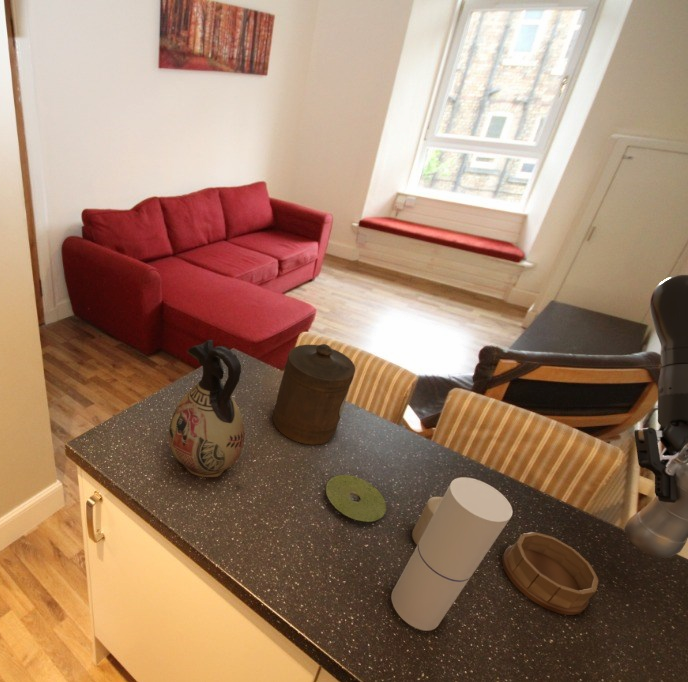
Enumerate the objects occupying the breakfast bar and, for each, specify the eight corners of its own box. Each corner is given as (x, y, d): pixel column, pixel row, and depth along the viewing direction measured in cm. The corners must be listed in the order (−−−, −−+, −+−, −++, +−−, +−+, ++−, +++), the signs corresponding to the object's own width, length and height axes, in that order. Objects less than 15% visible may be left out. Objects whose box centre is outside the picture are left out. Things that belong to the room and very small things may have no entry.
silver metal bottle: (617, 545, 72) (698, 454, 62) (619, 520, 76) (694, 431, 66) (672, 572, 68) (767, 480, 58) (670, 544, 73) (758, 454, 63)
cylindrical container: (392, 619, 68) (454, 510, 56) (390, 578, 74) (446, 470, 62) (443, 638, 67) (519, 529, 54) (436, 594, 72) (504, 487, 60)
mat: (358, 476, 94) (360, 470, 93) (396, 520, 85) (399, 513, 84) (312, 487, 90) (314, 480, 89) (347, 534, 81) (349, 527, 80)
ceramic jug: (151, 454, 95) (158, 332, 80) (206, 428, 104) (222, 313, 89) (202, 509, 84) (221, 378, 69) (259, 475, 92) (287, 352, 77)
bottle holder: (567, 560, 80) (582, 542, 77) (600, 626, 70) (618, 608, 67) (493, 539, 83) (504, 521, 80) (514, 599, 73) (528, 581, 70)
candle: (407, 525, 84) (426, 488, 79) (437, 530, 83) (458, 493, 78) (417, 551, 79) (437, 514, 74) (449, 557, 79) (472, 519, 74)
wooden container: (347, 439, 104) (375, 359, 93) (293, 450, 99) (315, 368, 88) (311, 400, 116) (332, 326, 105) (261, 409, 111) (277, 332, 100)
